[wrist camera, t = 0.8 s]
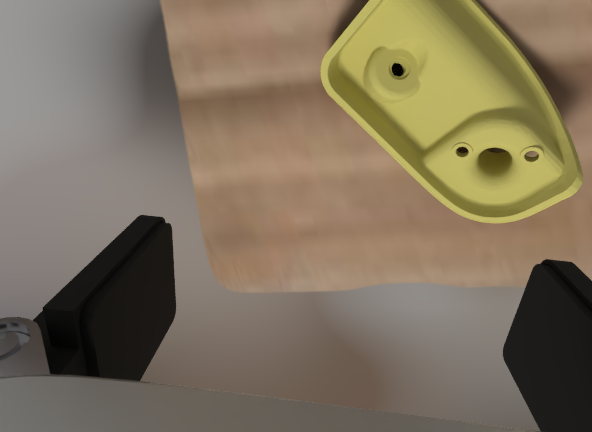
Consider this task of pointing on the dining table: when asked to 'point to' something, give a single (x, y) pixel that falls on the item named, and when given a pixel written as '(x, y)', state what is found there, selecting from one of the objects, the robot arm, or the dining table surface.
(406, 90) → the plastic component
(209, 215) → the dining table surface
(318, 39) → the dining table surface
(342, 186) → the dining table surface
